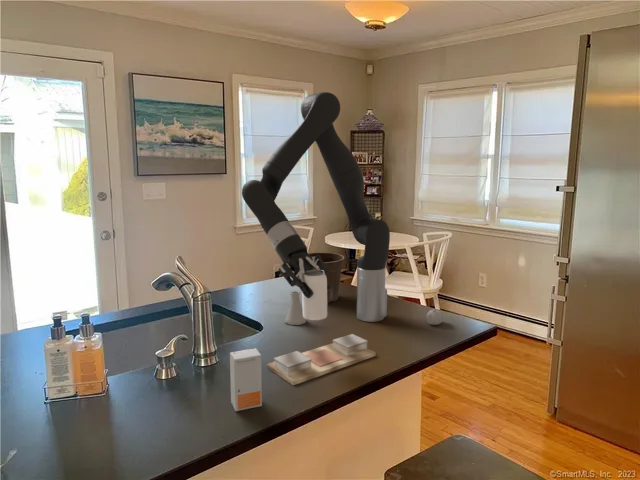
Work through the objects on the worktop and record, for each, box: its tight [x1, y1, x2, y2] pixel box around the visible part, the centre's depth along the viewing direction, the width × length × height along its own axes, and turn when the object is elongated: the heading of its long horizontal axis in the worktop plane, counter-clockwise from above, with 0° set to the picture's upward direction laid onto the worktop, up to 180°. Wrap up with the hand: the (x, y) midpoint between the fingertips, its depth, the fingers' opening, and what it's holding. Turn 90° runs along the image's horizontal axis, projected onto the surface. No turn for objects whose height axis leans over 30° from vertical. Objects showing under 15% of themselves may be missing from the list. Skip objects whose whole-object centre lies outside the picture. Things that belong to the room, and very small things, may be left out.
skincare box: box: [229, 347, 263, 412], centre depth 104 cm, size 6×4×12 cm
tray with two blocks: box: [266, 333, 377, 386], centre depth 126 cm, size 27×12×4 cm, turn 128°
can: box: [301, 270, 328, 322], centre depth 124 cm, size 6×6×12 cm
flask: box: [283, 290, 307, 326], centre depth 155 cm, size 7×7×10 cm
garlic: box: [425, 308, 444, 326], centre depth 153 cm, size 6×5×5 cm
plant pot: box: [308, 251, 345, 304], centre depth 178 cm, size 16×16×16 cm
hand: (319, 293), depth 123 cm, fingers closed on can, 6 cm apart
